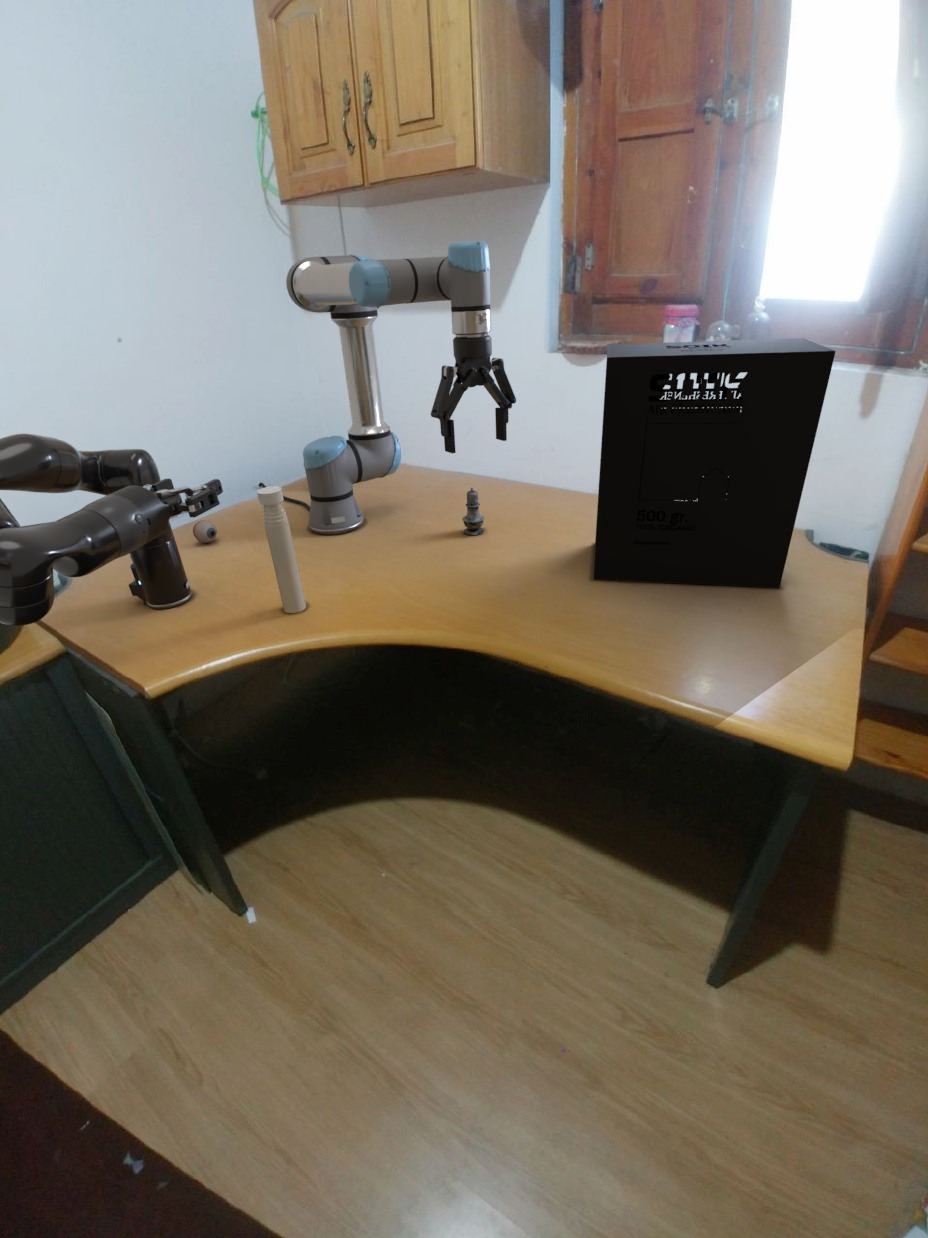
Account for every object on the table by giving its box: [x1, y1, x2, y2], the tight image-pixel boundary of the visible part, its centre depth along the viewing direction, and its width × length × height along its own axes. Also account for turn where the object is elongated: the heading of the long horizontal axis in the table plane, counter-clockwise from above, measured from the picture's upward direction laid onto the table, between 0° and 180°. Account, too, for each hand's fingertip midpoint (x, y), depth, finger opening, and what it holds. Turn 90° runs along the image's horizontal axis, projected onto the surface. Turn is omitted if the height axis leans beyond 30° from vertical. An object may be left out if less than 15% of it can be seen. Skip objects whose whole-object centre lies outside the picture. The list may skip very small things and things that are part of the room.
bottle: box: [262, 502, 307, 614], centre depth 122 cm, size 5×5×25 cm
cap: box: [256, 485, 285, 506], centre depth 116 cm, size 4×4×2 cm
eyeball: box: [192, 519, 218, 544], centre depth 162 cm, size 6×6×6 cm
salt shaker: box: [461, 487, 485, 536], centre depth 157 cm, size 6×6×12 cm
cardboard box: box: [592, 337, 836, 589], centre depth 125 cm, size 38×20×45 cm, turn 78°
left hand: (195, 484), depth 93 cm, fingers open, 8 cm apart
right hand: (476, 445), depth 127 cm, fingers open, 13 cm apart
